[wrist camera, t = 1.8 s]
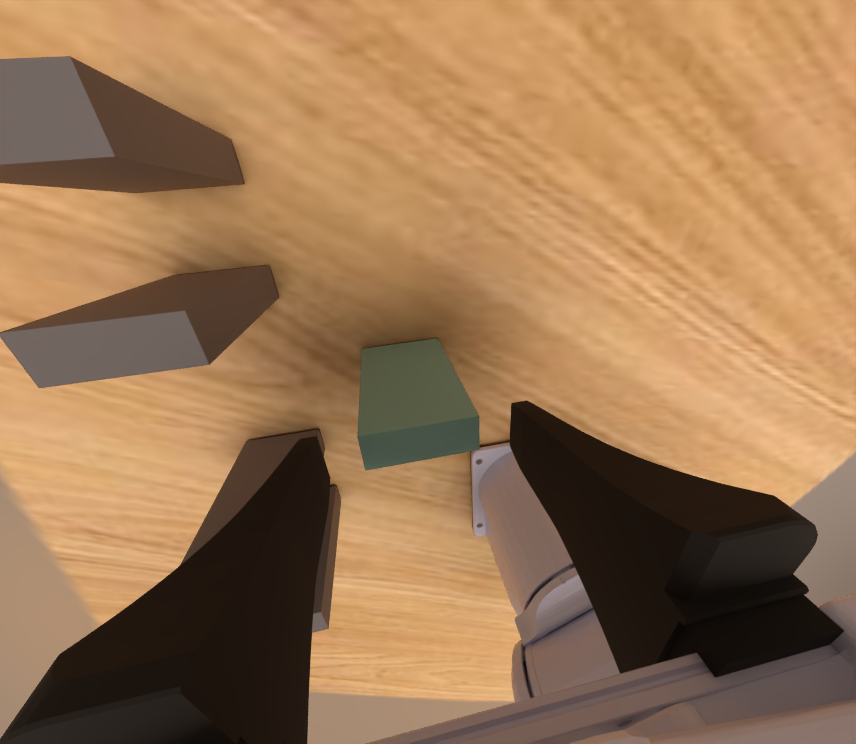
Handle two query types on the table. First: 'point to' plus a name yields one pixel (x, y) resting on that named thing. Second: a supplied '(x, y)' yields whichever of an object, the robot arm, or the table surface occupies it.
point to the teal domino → (412, 406)
